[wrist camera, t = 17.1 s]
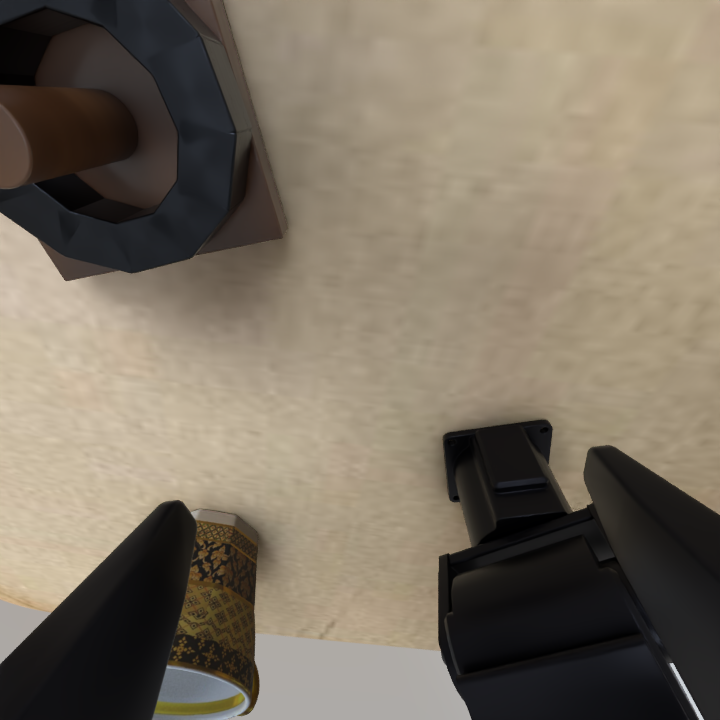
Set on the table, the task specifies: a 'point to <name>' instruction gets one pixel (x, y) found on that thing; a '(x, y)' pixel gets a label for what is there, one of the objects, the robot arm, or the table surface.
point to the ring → (188, 112)
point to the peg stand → (120, 134)
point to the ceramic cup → (215, 627)
